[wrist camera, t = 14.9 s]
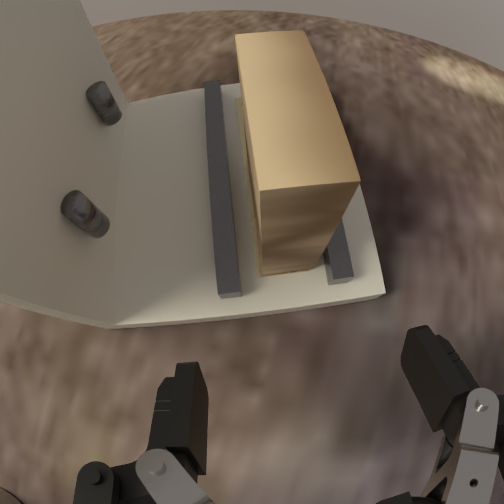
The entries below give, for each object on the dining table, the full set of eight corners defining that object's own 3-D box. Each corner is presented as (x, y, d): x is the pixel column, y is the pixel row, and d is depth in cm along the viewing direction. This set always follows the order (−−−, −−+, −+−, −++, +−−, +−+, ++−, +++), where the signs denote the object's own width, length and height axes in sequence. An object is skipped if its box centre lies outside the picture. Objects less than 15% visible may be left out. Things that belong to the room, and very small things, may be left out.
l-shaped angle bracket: (108, 328, 20) (-143, 244, 3) (120, 121, 25) (36, -44, 8) (375, 298, 20) (607, 136, 3) (320, 93, 25) (346, -97, 8)
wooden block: (262, 275, 18) (259, 190, 9) (245, 147, 21) (233, 25, 12) (314, 268, 18) (360, 181, 9) (289, 143, 21) (299, 21, 12)
